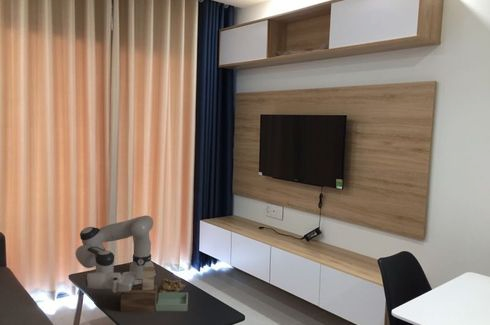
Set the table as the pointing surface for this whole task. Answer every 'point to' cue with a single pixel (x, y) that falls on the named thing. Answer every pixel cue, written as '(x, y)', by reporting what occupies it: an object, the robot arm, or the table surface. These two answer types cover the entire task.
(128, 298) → the walnut ledge
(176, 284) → the mineral formation
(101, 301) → the table surface
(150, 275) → the birch block
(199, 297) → the table surface
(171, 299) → the bin
